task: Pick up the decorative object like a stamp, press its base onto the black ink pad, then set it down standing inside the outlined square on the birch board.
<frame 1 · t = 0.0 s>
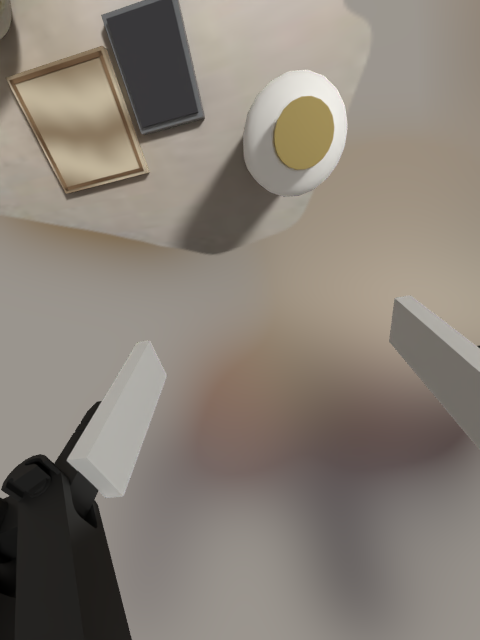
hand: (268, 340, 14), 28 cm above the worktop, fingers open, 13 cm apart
ink pad: (159, 72, 28), on the worktop
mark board: (86, 130, 31), on the worktop
potion bottle: (274, 149, 32), on the worktop
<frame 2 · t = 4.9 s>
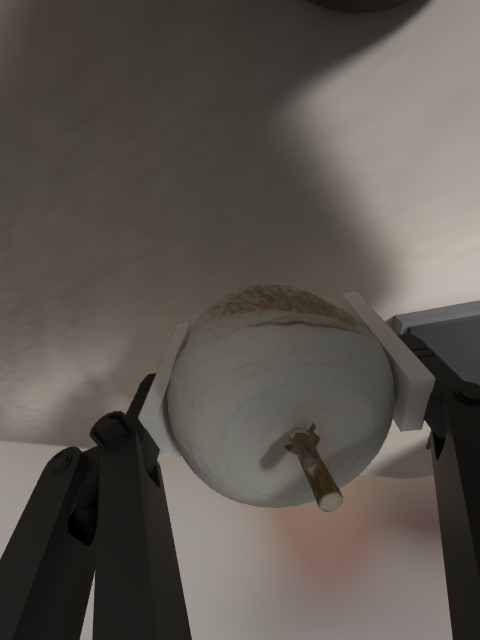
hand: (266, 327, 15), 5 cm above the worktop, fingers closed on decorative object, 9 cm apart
ink pad: (434, 354, 22), on the worktop
decorative object: (265, 321, 15), point 4 cm above the worktop, touching gripper
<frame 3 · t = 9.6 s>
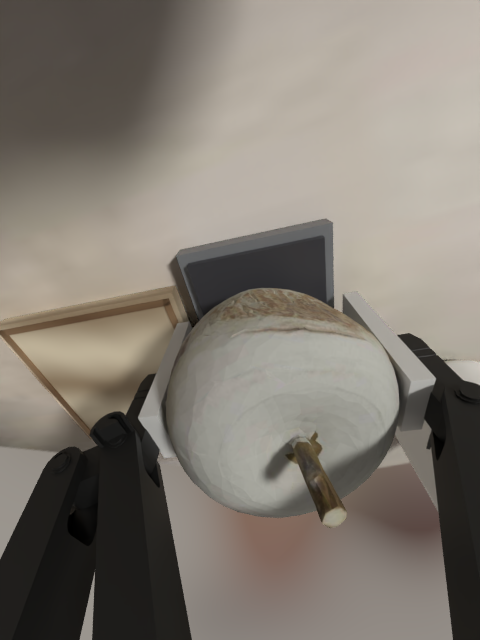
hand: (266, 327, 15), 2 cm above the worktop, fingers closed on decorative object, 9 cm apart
ink pad: (265, 312, 16), on the worktop
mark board: (127, 371, 19), on the worktop
decorative object: (266, 324, 15), point 1 cm above the worktop, touching gripper, ink pad
potion bottle: (432, 391, 20), on the worktop
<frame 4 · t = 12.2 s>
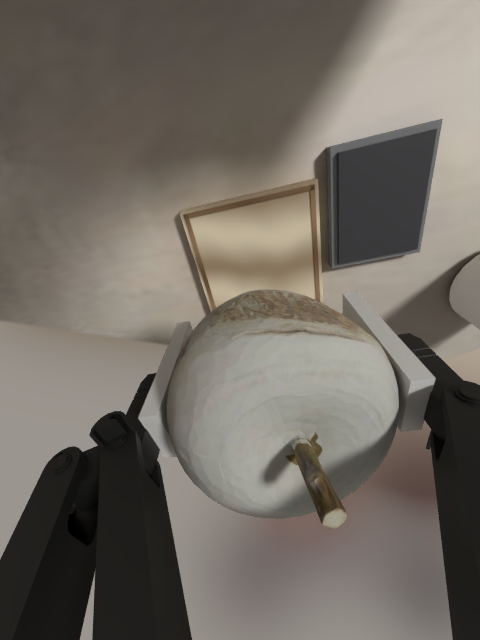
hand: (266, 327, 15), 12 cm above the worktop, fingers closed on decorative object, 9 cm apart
ink pad: (373, 202, 22), on the worktop
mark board: (257, 259, 25), on the worktop
decorative object: (266, 325, 15), point 12 cm above the worktop, touching gripper
when the fingers open (2 cm above the worktop, at t = 14.4 s): decorative object stays where it is, resting on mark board.
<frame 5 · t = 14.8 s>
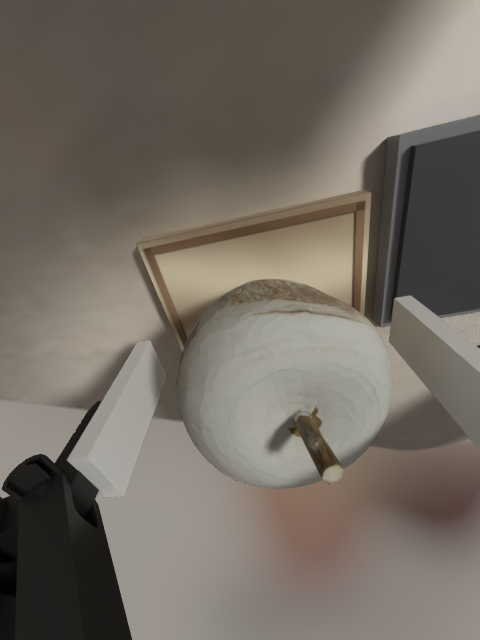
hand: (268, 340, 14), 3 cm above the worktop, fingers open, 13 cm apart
ink pad: (455, 229, 14), on the worktop
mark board: (264, 311, 16), on the worktop
decorative object: (268, 316, 16), point 1 cm above the worktop, touching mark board
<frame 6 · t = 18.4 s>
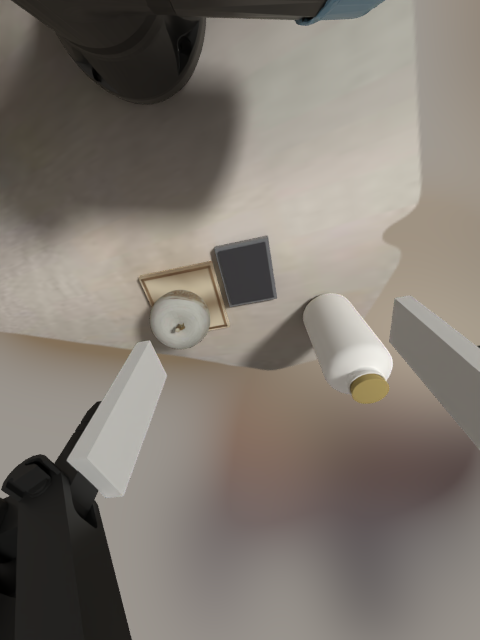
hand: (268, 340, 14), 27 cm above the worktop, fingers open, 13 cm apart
ink pad: (247, 272, 40), on the worktop
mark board: (187, 301, 43), on the worktop
decorative object: (187, 302, 42), point 1 cm above the worktop, touching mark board
potion bottle: (325, 311, 44), on the worktop
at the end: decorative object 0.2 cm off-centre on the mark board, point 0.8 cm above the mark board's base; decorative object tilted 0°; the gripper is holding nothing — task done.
